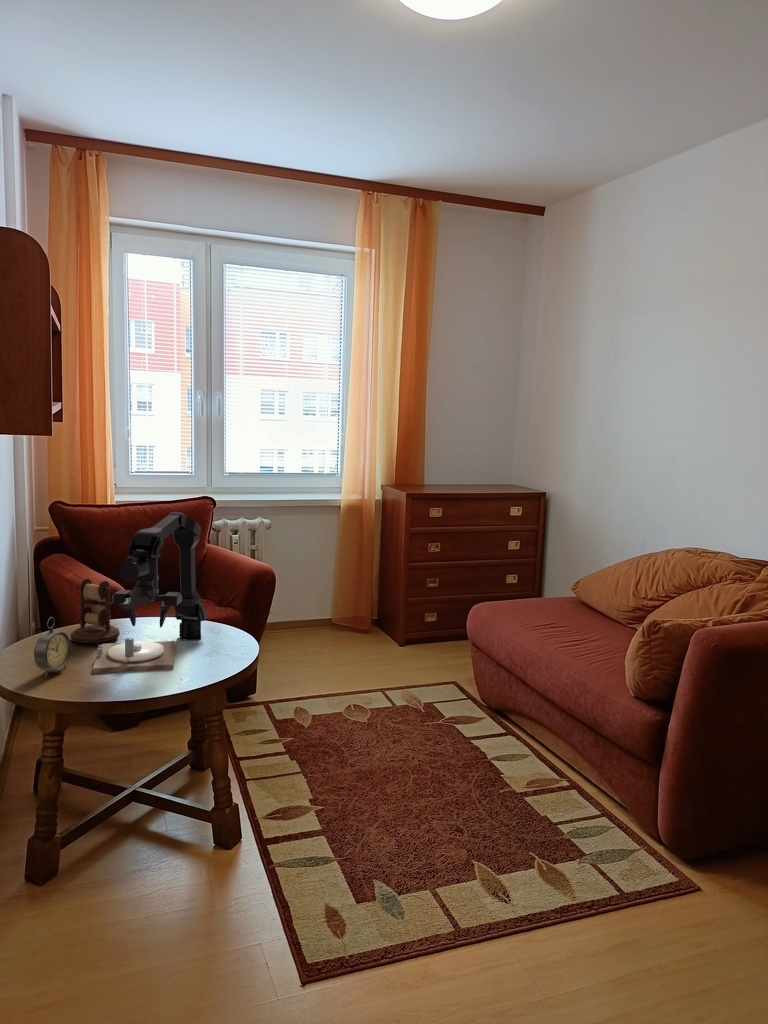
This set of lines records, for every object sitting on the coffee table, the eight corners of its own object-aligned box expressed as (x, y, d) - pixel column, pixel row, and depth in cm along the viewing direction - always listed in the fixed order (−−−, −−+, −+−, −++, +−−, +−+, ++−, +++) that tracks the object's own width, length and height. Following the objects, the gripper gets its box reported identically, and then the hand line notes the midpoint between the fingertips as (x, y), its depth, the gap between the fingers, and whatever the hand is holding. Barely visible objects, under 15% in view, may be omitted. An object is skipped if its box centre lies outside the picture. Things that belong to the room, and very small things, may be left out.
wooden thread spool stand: (129, 636, 238) (128, 577, 236) (100, 649, 224) (99, 587, 221) (91, 630, 242) (90, 572, 239) (60, 643, 228) (59, 582, 225)
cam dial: (119, 643, 225) (119, 624, 224) (170, 645, 225) (170, 626, 224) (97, 662, 208) (97, 641, 207) (152, 664, 208) (152, 644, 207)
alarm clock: (47, 680, 197) (46, 623, 195) (30, 678, 198) (29, 621, 196) (72, 667, 208) (71, 613, 206) (56, 665, 209) (55, 611, 207)
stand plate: (175, 645, 231) (175, 633, 230) (173, 669, 210) (173, 656, 209) (102, 648, 225) (101, 636, 225) (92, 673, 204) (92, 659, 204)
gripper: (104, 579, 200) (104, 633, 202) (171, 582, 200) (170, 636, 202) (119, 570, 211) (119, 622, 213) (182, 573, 211) (182, 625, 213)
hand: (147, 626), depth 210 cm, fingers open, 8 cm apart
